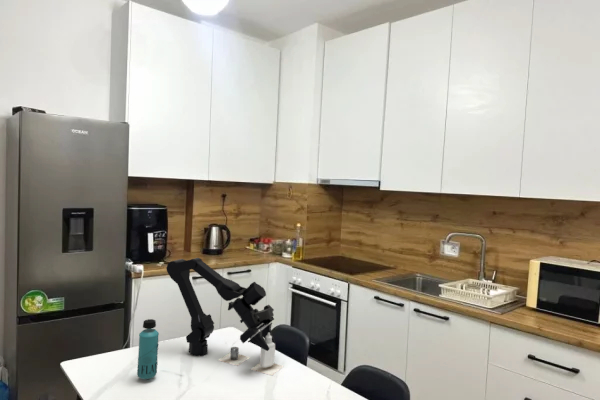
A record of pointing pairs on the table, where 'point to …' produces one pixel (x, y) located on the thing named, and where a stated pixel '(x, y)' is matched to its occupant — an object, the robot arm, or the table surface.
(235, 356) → the metal pin
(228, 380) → the table surface
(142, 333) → the beverage bottle
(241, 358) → the board
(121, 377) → the table surface
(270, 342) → the eye dropper bottle
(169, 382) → the table surface
